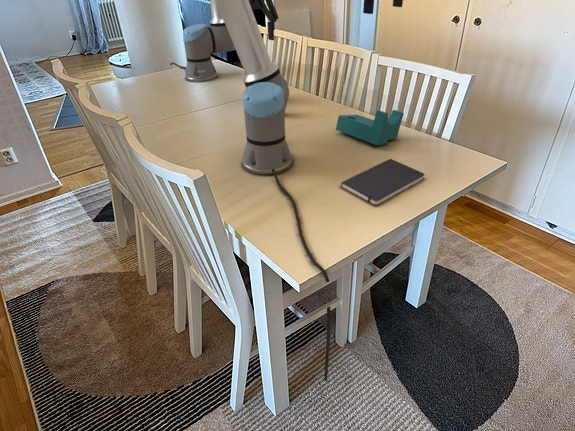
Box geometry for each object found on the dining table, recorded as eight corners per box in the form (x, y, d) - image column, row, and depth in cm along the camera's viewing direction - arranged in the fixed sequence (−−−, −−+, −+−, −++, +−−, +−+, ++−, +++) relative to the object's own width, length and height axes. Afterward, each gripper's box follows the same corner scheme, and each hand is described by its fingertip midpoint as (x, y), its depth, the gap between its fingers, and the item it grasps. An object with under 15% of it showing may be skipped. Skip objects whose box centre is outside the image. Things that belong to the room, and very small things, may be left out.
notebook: (389, 163, 124) (340, 187, 113) (390, 158, 123) (341, 182, 112) (424, 178, 116) (375, 206, 105) (425, 174, 115) (376, 201, 104)
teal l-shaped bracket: (395, 143, 138) (403, 112, 134) (377, 145, 131) (385, 113, 126) (354, 128, 149) (361, 99, 145) (335, 129, 142) (342, 99, 137)
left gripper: (272, -24, 155) (275, 36, 167) (219, -17, 141) (226, 47, 153) (286, -23, 150) (287, 38, 162) (233, -16, 136) (239, 50, 149)
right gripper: (408, -87, 108) (397, 2, 120) (348, -86, 94) (343, 14, 106) (433, -88, 103) (419, 5, 115) (374, -87, 89) (366, 18, 102)
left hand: (258, 43), depth 158 cm, fingers open, 13 cm apart
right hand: (383, 10), depth 111 cm, fingers open, 13 cm apart
